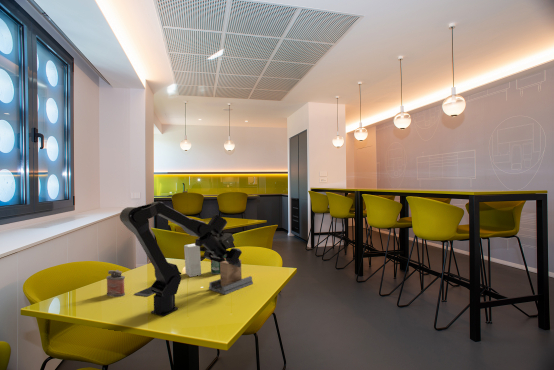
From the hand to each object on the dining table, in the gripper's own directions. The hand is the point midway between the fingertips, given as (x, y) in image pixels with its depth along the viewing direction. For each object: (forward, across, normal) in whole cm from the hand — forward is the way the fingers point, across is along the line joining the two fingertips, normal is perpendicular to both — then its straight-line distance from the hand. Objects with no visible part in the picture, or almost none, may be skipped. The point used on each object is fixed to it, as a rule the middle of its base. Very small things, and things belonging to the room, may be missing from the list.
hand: (233, 264), depth 124 cm
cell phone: (-10, +25, +23) cm, 35 cm away
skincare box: (+7, +30, +7) cm, 32 cm away
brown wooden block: (+5, 0, +7) cm, 8 cm away
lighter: (-18, +32, +32) cm, 49 cm away
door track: (+6, 0, +7) cm, 9 cm away
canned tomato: (+14, +22, 0) cm, 26 cm away
